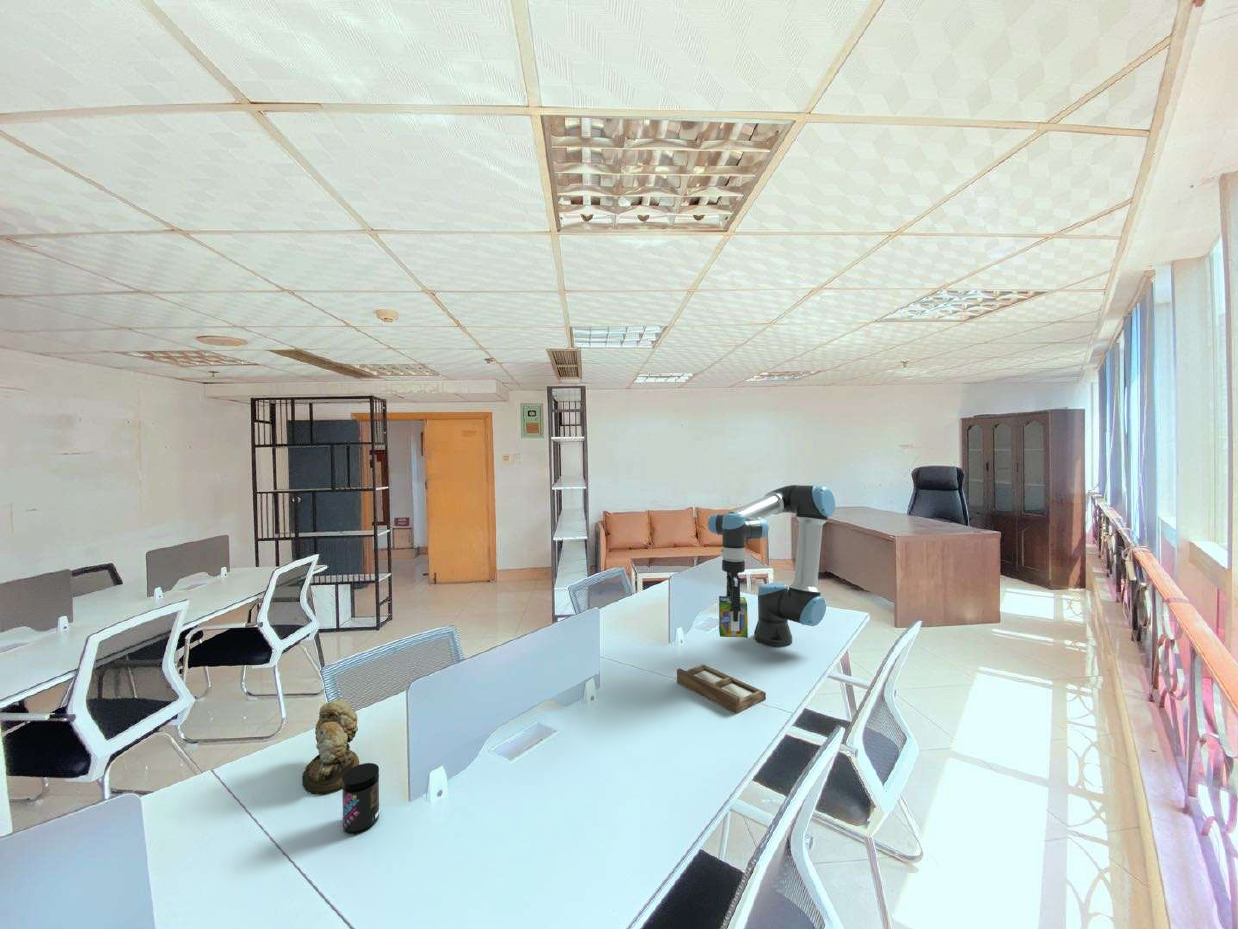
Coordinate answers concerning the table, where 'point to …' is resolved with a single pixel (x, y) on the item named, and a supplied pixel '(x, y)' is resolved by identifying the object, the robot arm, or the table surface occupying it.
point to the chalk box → (726, 618)
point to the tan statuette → (332, 748)
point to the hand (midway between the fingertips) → (732, 625)
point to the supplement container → (360, 798)
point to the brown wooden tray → (720, 688)
